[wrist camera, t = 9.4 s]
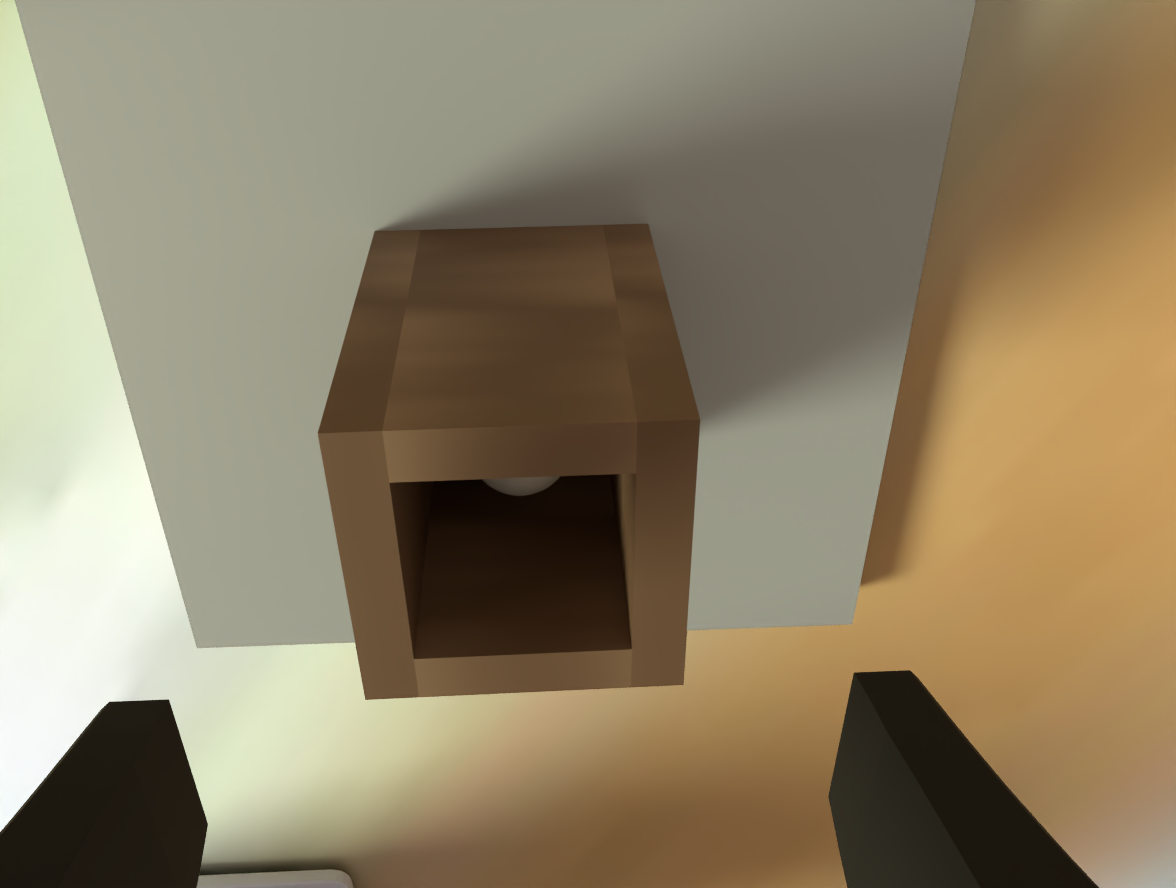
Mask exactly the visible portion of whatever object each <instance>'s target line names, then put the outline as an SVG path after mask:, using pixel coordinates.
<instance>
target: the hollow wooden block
mask: <svg viewBox="0 0 1176 888" xmlns="http://www.w3.org/2000/svg"><path fill="white" fill-rule="evenodd" d="M699 432H700V417H699V413H698V409H697V405H696V402H695V398H694V394H693V390H692V387H691V383H690V379H689V375H688V372H687V368H686V364H685V360H684V357H683V353H682V349H681V345H680V341H679V338H678V334H677V330H676V326H675V323H674V319H673V315H672V311H671V308H670V304H669V300H668V296H667V293H666V289H665V285H664V281H663V278H662V274H661V270H660V266H659V263H658V259H657V255H656V251H655V248H654V244H653V240H652V236H651V232H650V229H649V225H648V224H615V225H579V226H543V227H507V228H471V229H435V230H399V231H374V235H373V238H372V242H371V245H370V249H369V253H368V256H367V260H366V263H365V267H364V270H363V274H362V277H361V281H360V284H359V288H358V292H357V295H356V299H355V302H354V306H353V309H352V313H351V316H350V320H349V324H348V327H347V331H346V334H345V338H344V341H343V345H342V348H341V352H340V356H339V359H338V363H337V366H336V370H335V373H334V377H333V380H332V384H331V387H330V391H329V395H328V398H327V402H326V405H325V409H324V412H323V416H322V419H321V423H320V427H319V430H318V438H319V444H320V450H321V455H322V461H323V466H324V472H325V477H326V483H327V488H328V494H329V500H330V505H331V511H332V516H333V522H334V527H335V533H336V538H337V544H338V550H339V555H340V561H341V566H342V572H343V577H344V583H345V589H346V594H347V600H348V605H349V611H350V616H351V622H352V627H353V633H354V639H355V644H356V650H357V655H358V661H359V666H360V672H361V677H362V683H363V689H364V694H365V700H369V699H391V698H412V697H434V696H455V695H476V694H498V693H519V692H541V691H562V690H584V689H605V688H626V687H648V686H669V685H683V683H684V668H685V652H686V636H687V621H688V605H689V589H690V573H691V558H692V542H693V526H694V511H695V495H696V479H697V464H698V448H699ZM553 476H560V477H559V479H558V480H556V481H555V482H554V483H553V484H552V485H551V486H549V487H548V488H546V489H545V490H542V491H540V492H538V493H535V494H531V495H526V496H514V495H508V494H504V493H502V492H499V491H497V490H495V489H493V488H491V487H490V486H488V485H487V484H486V483H485V482H484V481H483V480H482V479H500V478H526V477H553Z"/></svg>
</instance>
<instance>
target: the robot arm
mask: <svg viewBox="0 0 1176 888" xmlns="http://www.w3.org/2000/svg"><path fill="white" fill-rule="evenodd" d="M829 801H830V806H831V811H832V816H833V821H834V826H835V831H836V836H837V841H838V846H839V851H840V855H841V860H842V865H843V869H844V874H845V878H846V883H847V887H848V888H1099V887H1098V886H1097V885H1096V884H1095V883H1094V882H1093V881H1092V880H1091V879H1090V878H1089V877H1088V876H1087V874H1086V873H1085V872H1084V871H1083V870H1082V869H1081V868H1080V867H1079V866H1078V865H1077V864H1076V863H1075V862H1074V861H1073V860H1072V859H1071V857H1070V856H1069V855H1068V854H1067V853H1066V852H1065V851H1064V850H1063V849H1062V848H1061V846H1060V845H1059V844H1058V843H1057V842H1056V841H1055V840H1054V839H1053V838H1052V836H1051V835H1050V834H1049V833H1048V832H1047V831H1046V830H1045V829H1044V827H1043V826H1042V825H1041V824H1040V823H1039V822H1038V821H1037V820H1036V819H1035V817H1034V816H1033V815H1032V814H1031V813H1030V812H1029V811H1028V810H1027V809H1026V807H1025V806H1024V805H1023V804H1022V803H1021V802H1020V801H1019V800H1018V798H1017V797H1016V796H1015V795H1014V794H1013V793H1012V791H1011V790H1010V789H1009V788H1008V787H1007V786H1006V784H1005V783H1004V782H1003V781H1002V780H1001V779H1000V777H999V776H998V775H997V774H996V773H995V772H994V770H993V769H992V768H991V767H990V766H989V764H988V763H987V762H986V761H985V760H984V758H983V757H982V756H981V755H980V754H979V752H978V751H977V750H976V749H975V748H974V746H973V745H972V744H971V743H970V742H969V740H968V739H967V738H966V737H965V736H964V734H963V733H962V732H961V731H960V729H959V728H958V727H957V726H956V725H955V723H954V722H953V721H952V720H951V718H950V717H949V716H948V715H947V713H946V712H945V711H944V710H943V708H942V707H941V706H940V705H939V704H938V702H937V701H936V700H935V699H934V697H933V696H932V695H931V694H930V692H929V691H928V690H927V689H926V687H925V686H924V685H923V684H922V682H921V681H920V680H919V679H918V678H917V677H916V676H915V675H914V674H913V673H912V672H911V671H884V672H859V673H854V675H853V680H852V685H851V690H850V694H849V699H848V704H847V709H846V714H845V719H844V724H843V728H842V733H841V738H840V743H839V748H838V753H837V758H836V763H835V767H834V772H833V777H832V782H831V787H830V792H829ZM207 826H208V823H207V820H206V817H205V814H204V811H203V807H202V804H201V801H200V798H199V795H198V791H197V788H196V785H195V782H194V779H193V775H192V772H191V769H190V766H189V763H188V759H187V756H186V753H185V750H184V746H183V743H182V740H181V737H180V734H179V730H178V727H177V724H176V721H175V718H174V714H173V711H172V708H171V705H170V702H169V700H146V701H121V702H109V703H108V704H107V705H106V706H104V707H103V708H102V709H101V710H100V712H99V713H98V714H97V715H96V716H95V718H94V719H93V720H92V721H91V723H90V724H89V725H88V726H87V727H86V729H85V730H84V731H83V732H82V734H81V735H80V736H79V737H78V739H77V740H76V741H75V742H74V743H73V745H72V746H71V747H70V748H69V750H68V751H67V752H66V753H65V755H64V756H63V757H62V758H61V760H60V761H59V762H58V763H57V764H56V766H55V767H54V768H53V769H52V771H51V772H50V773H49V774H48V775H47V777H46V778H45V779H44V780H43V782H42V783H41V784H40V785H39V786H38V788H37V789H36V790H35V791H34V793H33V794H32V795H31V796H30V797H29V799H28V800H27V801H26V802H25V803H24V805H23V806H22V807H21V808H20V809H19V811H18V812H17V813H16V814H15V815H14V817H13V818H12V819H11V820H10V821H9V823H8V824H7V825H6V826H5V827H4V829H3V830H2V831H1V832H0V888H353V885H352V880H351V878H350V876H349V875H347V874H346V873H345V872H343V871H340V870H334V869H327V870H305V871H284V872H262V873H241V874H219V875H199V873H200V867H201V861H202V855H203V849H204V844H205V838H206V832H207Z"/></svg>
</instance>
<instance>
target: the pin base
mask: <svg viewBox="0 0 1176 888" xmlns="http://www.w3.org/2000/svg"><path fill="white" fill-rule="evenodd" d="M15 3H16V7H17V10H18V14H19V17H20V21H21V24H22V28H23V31H24V35H25V39H26V42H27V46H28V49H29V53H30V56H31V60H32V63H33V67H34V71H35V74H36V78H37V81H38V85H39V88H40V92H41V95H42V99H43V103H44V106H45V110H46V113H47V117H48V120H49V124H50V127H51V131H52V135H53V138H54V142H55V145H56V149H57V152H58V156H59V159H60V163H61V166H62V170H63V174H64V177H65V181H66V184H67V188H68V191H69V195H70V198H71V202H72V206H73V209H74V213H75V216H76V220H77V223H78V227H79V230H80V234H81V238H82V241H83V245H84V248H85V252H86V255H87V259H88V262H89V266H90V270H91V273H92V277H93V280H94V284H95V287H96V291H97V294H98V298H99V302H100V305H101V309H102V312H103V316H104V319H105V323H106V326H107V330H108V334H109V337H110V341H111V344H112V348H113V351H114V355H115V358H116V362H117V366H118V369H119V373H120V376H121V380H122V383H123V387H124V390H125V394H126V398H127V401H128V405H129V408H130V412H131V415H132V419H133V422H134V426H135V429H136V433H137V437H138V440H139V444H140V447H141V451H142V454H143V458H144V461H145V465H146V469H147V472H148V476H149V479H150V483H151V486H152V490H153V493H154V497H155V501H156V504H157V508H158V511H159V515H160V518H161V522H162V525H163V529H164V533H165V536H166V540H167V543H168V547H169V550H170V554H171V557H172V561H173V565H174V568H175V572H176V575H177V579H178V582H179V586H180V589H181V593H182V597H183V600H184V604H185V607H186V611H187V614H188V618H189V621H190V625H191V629H192V632H193V636H194V639H195V643H196V646H197V648H211V647H239V646H267V645H294V644H322V643H350V642H355V639H354V633H353V627H352V622H351V616H350V611H349V605H348V600H347V594H346V589H345V583H344V577H343V572H342V566H341V561H340V555H339V550H338V544H337V538H336V533H335V527H334V522H333V516H332V511H331V505H330V500H329V494H328V488H327V483H326V477H325V472H324V466H323V461H322V455H321V450H320V444H319V438H318V430H319V427H320V423H321V419H322V416H323V412H324V409H325V405H326V402H327V398H328V395H329V391H330V387H331V384H332V380H333V377H334V373H335V370H336V366H337V363H338V359H339V356H340V352H341V348H342V345H343V341H344V338H345V334H346V331H347V327H348V324H349V320H350V316H351V313H352V309H353V306H354V302H355V299H356V295H357V292H358V288H359V284H360V281H361V277H362V274H363V270H364V267H365V263H366V260H367V256H368V253H369V249H370V245H371V242H372V238H373V235H374V231H399V230H435V229H471V228H507V227H543V226H579V225H615V224H648V225H649V229H650V232H651V236H652V240H653V244H654V248H655V251H656V255H657V259H658V263H659V266H660V270H661V274H662V278H663V281H664V285H665V289H666V293H667V296H668V300H669V304H670V308H671V311H672V315H673V319H674V323H675V326H676V330H677V334H678V338H679V341H680V345H681V349H682V353H683V357H684V360H685V364H686V368H687V372H688V375H689V379H690V383H691V387H692V390H693V394H694V398H695V402H696V405H697V409H698V413H699V417H700V432H699V448H698V464H697V479H696V495H695V511H694V526H693V542H692V558H691V573H690V589H689V605H688V621H687V630H710V629H737V628H765V627H793V626H820V625H848V624H852V622H853V617H854V612H855V607H856V602H857V597H858V592H859V587H860V582H861V577H862V572H863V567H864V562H865V557H866V552H867V547H868V542H869V537H870V532H871V527H872V522H873V517H874V512H875V507H876V502H877V497H878V492H879V486H880V481H881V476H882V471H883V466H884V461H885V456H886V451H887V446H888V441H889V436H890V431H891V426H892V421H893V416H894V411H895V406H896V401H897V396H898V391H899V386H900V381H901V376H902V371H903V366H904V361H905V356H906V351H907V346H908V341H909V335H910V330H911V325H912V320H913V315H914V310H915V305H916V300H917V295H918V290H919V285H920V280H921V275H922V270H923V265H924V260H925V255H926V250H927V245H928V240H929V235H930V230H931V225H932V220H933V215H934V210H935V205H936V200H937V195H938V190H939V185H940V179H941V174H942V169H943V164H944V159H945V154H946V149H947V144H948V139H949V134H950V129H951V124H952V119H953V114H954V109H955V104H956V99H957V94H958V89H959V84H960V79H961V74H962V69H963V64H964V59H965V54H966V49H967V44H968V39H969V34H970V28H971V23H972V18H973V13H974V8H975V3H976V0H15ZM559 477H560V476H553V477H526V478H500V479H482V480H483V481H484V482H485V483H486V484H487V485H488V486H490V487H491V488H493V489H495V490H497V491H499V492H502V493H504V494H508V495H514V496H526V495H531V494H535V493H538V492H540V491H542V490H545V489H546V488H548V487H549V486H551V485H552V484H553V483H554V482H555V481H556V480H558V479H559Z"/></svg>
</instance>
